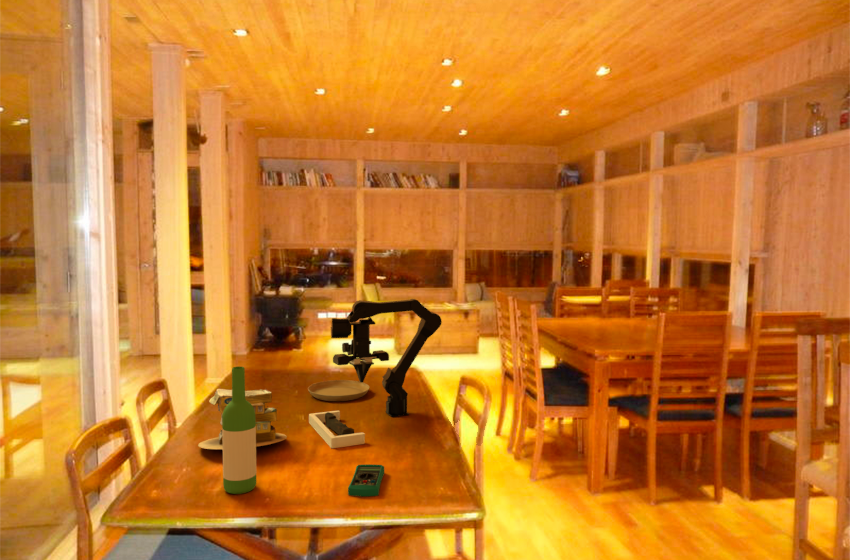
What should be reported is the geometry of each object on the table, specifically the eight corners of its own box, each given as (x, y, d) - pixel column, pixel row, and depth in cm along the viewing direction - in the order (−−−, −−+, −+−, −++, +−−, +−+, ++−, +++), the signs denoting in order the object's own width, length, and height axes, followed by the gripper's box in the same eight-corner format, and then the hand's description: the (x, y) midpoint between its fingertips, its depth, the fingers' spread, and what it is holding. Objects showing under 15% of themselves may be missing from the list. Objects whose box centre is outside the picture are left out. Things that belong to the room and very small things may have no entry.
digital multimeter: (347, 498, 142) (347, 486, 142) (356, 473, 157) (356, 462, 156) (378, 499, 142) (378, 486, 141) (384, 474, 156) (384, 463, 156)
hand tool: (354, 440, 182) (354, 425, 182) (342, 442, 180) (342, 427, 180) (334, 423, 199) (334, 409, 199) (322, 425, 197) (322, 411, 197)
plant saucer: (380, 397, 232) (380, 389, 232) (323, 407, 219) (323, 398, 219) (352, 385, 252) (352, 377, 252) (298, 393, 239) (298, 384, 239)
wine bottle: (218, 495, 142) (216, 371, 140) (229, 482, 150) (227, 364, 148) (251, 495, 142) (249, 371, 140) (260, 482, 150) (258, 364, 148)
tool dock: (338, 419, 203) (338, 410, 203) (364, 443, 179) (364, 433, 178) (308, 422, 199) (308, 413, 199) (331, 448, 174) (331, 438, 174)
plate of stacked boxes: (203, 436, 185) (202, 383, 184) (285, 430, 191) (285, 378, 190) (193, 465, 161) (192, 404, 160) (288, 457, 167) (287, 398, 166)
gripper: (376, 332, 216) (376, 374, 217) (327, 336, 207) (327, 380, 208) (389, 336, 206) (389, 381, 207) (338, 340, 198) (338, 387, 199)
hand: (361, 382), depth 206 cm, fingers closed
